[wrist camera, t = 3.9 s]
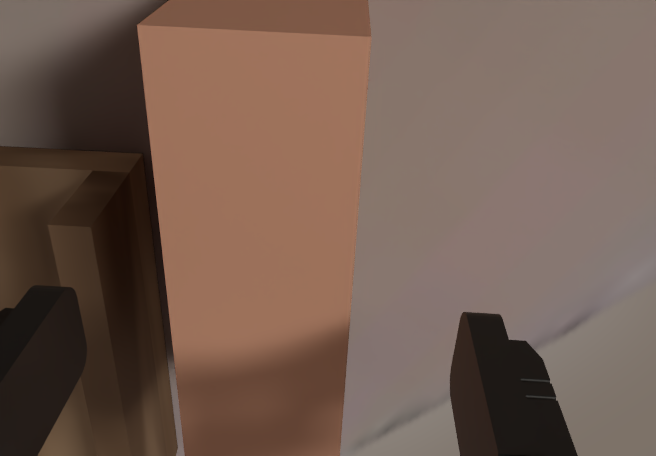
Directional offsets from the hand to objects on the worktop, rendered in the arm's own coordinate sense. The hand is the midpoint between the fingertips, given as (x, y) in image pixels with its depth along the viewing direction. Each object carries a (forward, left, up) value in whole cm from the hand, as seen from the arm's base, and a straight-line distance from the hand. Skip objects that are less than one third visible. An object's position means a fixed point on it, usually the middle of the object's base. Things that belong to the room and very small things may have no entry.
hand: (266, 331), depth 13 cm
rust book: (0, 0, -10) cm, 10 cm away
